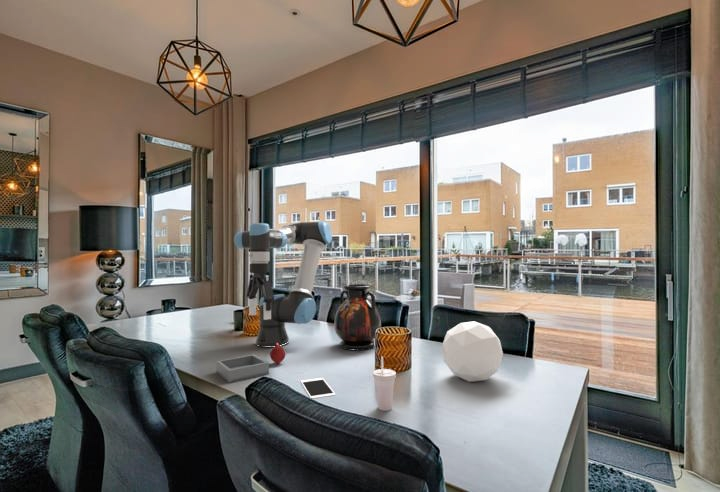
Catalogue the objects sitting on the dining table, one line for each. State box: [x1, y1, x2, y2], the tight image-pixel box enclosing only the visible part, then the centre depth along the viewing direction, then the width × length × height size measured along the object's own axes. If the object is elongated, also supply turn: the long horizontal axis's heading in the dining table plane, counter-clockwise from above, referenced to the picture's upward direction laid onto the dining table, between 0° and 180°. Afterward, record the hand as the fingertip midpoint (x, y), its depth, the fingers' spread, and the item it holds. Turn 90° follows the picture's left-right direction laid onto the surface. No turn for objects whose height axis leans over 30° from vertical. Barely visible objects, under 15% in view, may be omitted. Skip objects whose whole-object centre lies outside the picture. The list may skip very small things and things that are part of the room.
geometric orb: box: [441, 320, 504, 383], centre depth 122 cm, size 19×20×20 cm
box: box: [215, 354, 270, 384], centre depth 131 cm, size 14×14×4 cm
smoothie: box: [372, 356, 397, 412], centre depth 100 cm, size 6×6×14 cm
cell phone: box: [299, 377, 336, 400], centre depth 116 cm, size 8×16×1 cm, turn 20°
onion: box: [269, 343, 286, 365], centre depth 141 cm, size 6×6×8 cm
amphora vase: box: [333, 283, 382, 351], centre depth 167 cm, size 22×22×28 cm
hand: (259, 317), depth 142 cm, fingers open, 13 cm apart
